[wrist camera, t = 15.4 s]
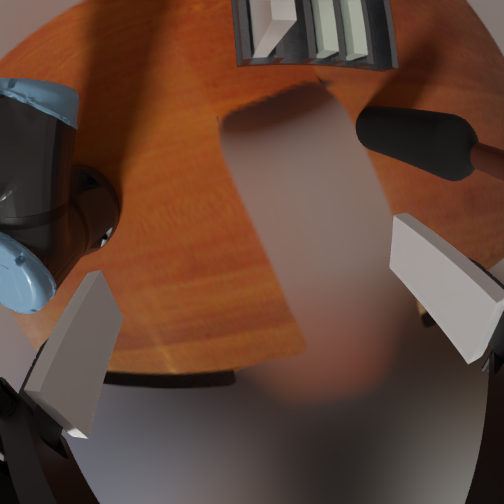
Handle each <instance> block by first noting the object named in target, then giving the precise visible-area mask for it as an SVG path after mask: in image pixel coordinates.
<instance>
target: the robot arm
mask: <svg viewBox="0 0 504 504" xmlns="http://www.w3.org/2000/svg"><path fill="white" fill-rule="evenodd" d="M78 109H79V96H78V94H77V92H76V91H75V90H74V89H72V88H71V87H68V86H65V85H62V84H58V83H53V82H48V81H42V80H34V79H23V78H20V79H16V78H0V303H2V304H3V305H5V306H6V307H8V308H9V309H11V310H14V311H16V312H19V313H24V314H32V313H35V312H38V311H39V310H41V309H42V308H43V307H44V306H45V305H46V303H47V302H48V301H49V300H50V299H51V298H53V297H54V296H55V294H56V291H57V289H58V288H59V287H60V285H61V284H62V282H63V281H64V280H65V278H66V277H67V275H68V274H69V273H70V272H71V270H72V269H73V268H74V266H75V265H76V264H77V262H78V261H79V260H80V258H81V257H83V256H85V255H88V254H90V253H93V252H95V251H97V250H99V249H100V248H102V247H103V246H104V245H105V244H106V243H107V242H108V241H109V239H110V238H111V237H112V235H113V234H114V232H115V230H116V228H117V225H118V220H119V204H118V200H117V197H116V194H115V191H114V189H113V187H112V186H111V184H110V183H109V181H108V180H107V179H106V178H105V177H104V176H103V175H102V174H101V173H99V172H98V171H96V170H95V169H93V168H90V167H87V166H82V165H75V166H72V160H73V151H74V142H75V135H76V131H77V130H78V126H77V117H78ZM389 267H390V268H391V270H392V271H393V272H394V273H395V274H396V275H397V276H398V277H399V279H401V281H402V282H403V283H404V284H405V285H406V286H407V288H408V289H409V290H410V291H411V292H412V293H413V295H414V296H415V297H416V298H417V299H418V300H419V302H420V303H421V304H422V305H423V306H424V308H425V309H426V310H427V311H428V312H429V314H430V315H431V316H432V317H433V319H434V320H435V321H436V322H437V324H438V325H439V326H440V327H441V329H442V330H443V331H444V332H445V334H446V335H447V336H448V338H449V339H450V340H451V342H452V343H453V344H454V345H455V347H456V348H457V349H458V351H459V352H460V353H461V355H462V356H463V357H464V359H465V360H466V362H467V363H468V364H469V363H471V362H473V361H475V360H476V359H478V358H480V357H481V356H482V355H483V353H484V351H485V349H486V347H487V346H488V344H489V346H490V347H491V348H492V351H491V352H490V354H489V356H488V358H487V360H486V361H485V363H484V365H483V367H482V371H484V370H485V368H486V366H487V365H488V364H489V369H488V370H487V372H489V379H488V380H489V381H488V395H487V405H486V414H485V422H484V428H483V434H482V440H481V445H480V450H479V455H478V459H477V464H476V468H475V472H474V475H473V479H472V483H471V486H470V489H469V493H468V496H467V499H466V502H465V504H504V285H503V284H502V283H501V282H500V281H499V280H497V279H496V278H495V277H493V276H492V274H491V273H489V272H488V271H486V269H485V268H484V267H483V266H481V265H480V264H479V263H478V262H476V261H474V260H472V259H470V258H468V257H465V256H464V255H463V254H462V253H460V252H459V251H458V250H457V249H455V248H454V247H453V246H452V245H450V244H449V243H448V242H446V241H445V240H444V239H443V238H441V237H440V236H439V235H437V234H436V233H435V232H433V231H432V230H431V229H429V228H428V227H426V226H425V225H424V224H422V223H421V222H419V221H418V220H417V219H415V218H414V217H412V216H411V215H409V214H408V213H403V214H397V215H394V217H393V234H392V247H391V257H390V266H389ZM123 319H124V317H123V315H122V313H121V311H120V309H119V307H118V305H117V303H116V301H115V299H114V297H113V295H112V293H111V291H110V289H109V287H108V284H107V282H106V280H105V278H104V276H103V273H102V271H101V270H99V271H95V272H90V273H87V275H86V276H85V278H84V279H83V281H82V282H81V284H80V285H79V287H78V289H77V290H76V292H75V293H74V295H73V297H72V298H71V300H70V302H69V303H68V305H67V307H66V308H65V310H64V312H63V313H62V315H61V317H60V319H59V320H58V322H57V324H56V326H55V328H54V329H53V331H52V333H51V335H50V337H49V338H48V339H47V340H46V341H45V343H44V344H43V345H42V346H41V347H40V349H39V351H38V353H37V355H36V359H34V361H33V363H32V366H31V367H30V369H29V371H28V374H27V376H26V378H25V380H24V382H23V384H22V387H21V389H20V391H19V393H17V392H16V391H15V390H14V389H13V388H12V387H11V386H10V385H9V383H8V382H7V381H6V380H5V379H4V378H2V377H0V453H1V454H2V455H3V456H4V461H1V460H0V504H100V503H99V502H98V500H97V498H96V497H95V495H94V493H93V492H92V490H91V488H90V486H89V485H88V483H87V481H86V479H85V478H84V476H83V474H82V472H81V470H80V468H79V466H78V464H77V462H76V460H75V459H74V456H73V454H72V452H71V450H70V448H69V445H68V443H67V441H66V439H65V438H64V437H63V436H62V435H61V433H62V429H64V430H66V431H67V432H68V433H69V434H70V435H71V436H73V437H80V438H87V439H88V438H89V434H90V430H91V426H92V421H93V418H94V414H95V410H96V405H97V402H98V398H99V394H100V391H101V387H102V384H103V380H104V377H105V374H106V370H107V367H108V364H109V361H110V357H111V354H112V351H113V348H114V345H115V342H116V339H117V336H118V333H119V330H120V327H121V325H122V322H123Z"/></svg>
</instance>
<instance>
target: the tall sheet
mask: <svg viewBox="0 0 504 504" xmlns="http://www.w3.org/2000/svg"><path fill="white" fill-rule="evenodd" d="M247 8H248V18H249V28H250V38H251V49H252V58H260V57H267V56H268V55H269V54H270V52H271V51H272V50H273V48H274V47H275V46H276V45H277V43H278V42H279V41H280V40H281V39H282V37H283V36H284V35H285V34H286V32H287V31H288V30H289V29H290V28H291V26H292V25H293V24H294V23H295V22H296V21H297V17H296V9H295V2H294V0H247Z"/></svg>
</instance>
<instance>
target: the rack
mask: <svg viewBox="0 0 504 504" xmlns="http://www.w3.org/2000/svg"><path fill="white" fill-rule="evenodd" d="M332 1H333V8H334V15H335V22H336V30H337V38H338V47H339V51H338V52H336V53H334V54H332V55H330V56H328V57H325V58H317V56H316V46H315V37H314V28H313V20H312V12H311V5H310V0H294V2H295V9H296V17H297V21H296V22H295V23H294V24H293V25H292V26H291V28H290V29H289V30H288V31H287V32H286V34H285V35H284V36H283V37H282V39H281V40H280V41H279V42H278V43H277V45H276V46H275V47H274V48H273V50H272V51H271V52H270V54H269V55H268V56H267V57H260V58H252V49H251V38H250V28H249V18H248V8H247V0H231V3H232V14H233V25H234V36H235V48H236V59H237V67H242V66H259V65H318V66H334V67H347V68H356V69H365V70H373V71H380V72H383V71H386V70H391V69H397V68H398V60H397V50H396V42H395V34H394V27H393V21H392V15H391V9H390V4H389V0H360V1H361V6H362V12H363V19H364V26H365V33H366V41H367V50H368V55H366V56H362V57H359V58H356V59H353V60H346V51H345V41H344V33H343V25H342V18H341V11H340V4H339V0H332Z"/></svg>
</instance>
